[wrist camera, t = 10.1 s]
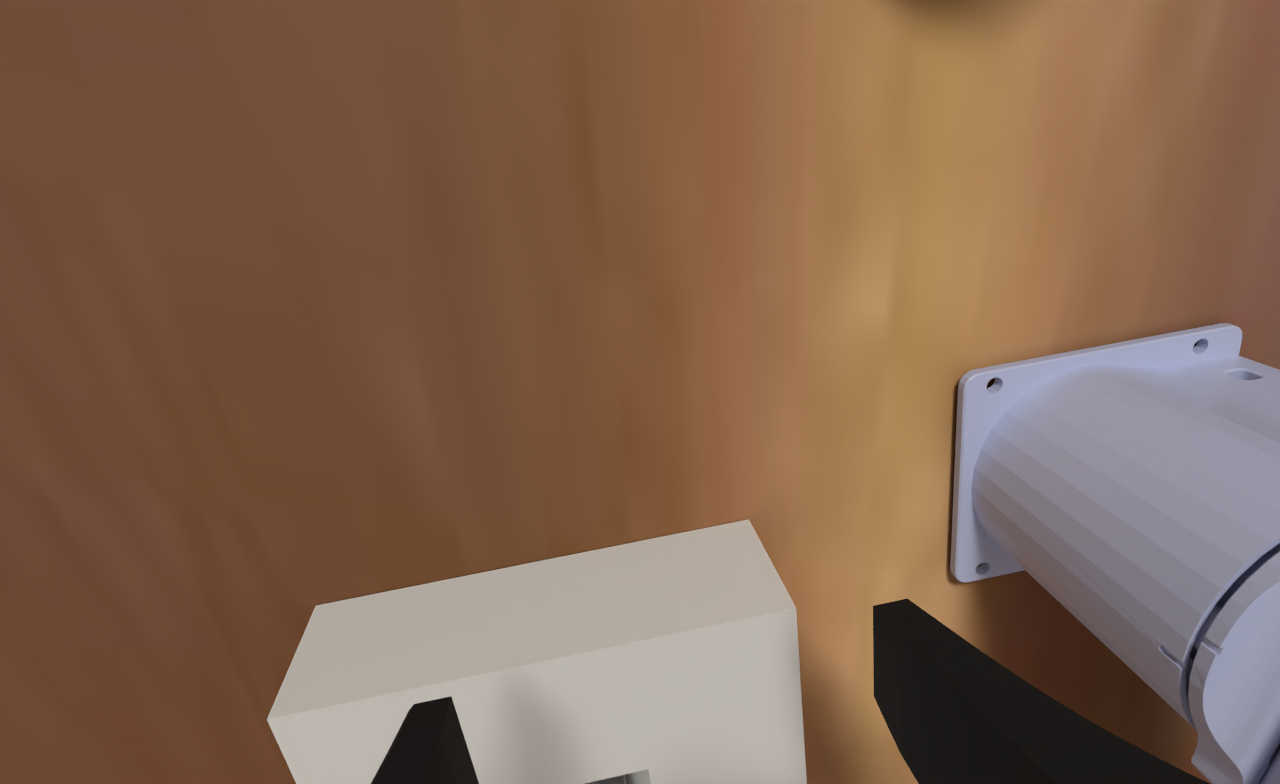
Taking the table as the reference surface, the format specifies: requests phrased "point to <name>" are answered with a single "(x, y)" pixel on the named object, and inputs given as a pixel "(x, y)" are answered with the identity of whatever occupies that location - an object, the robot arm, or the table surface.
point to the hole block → (565, 669)
